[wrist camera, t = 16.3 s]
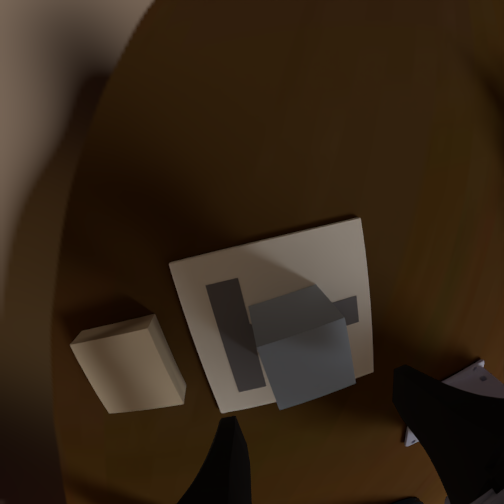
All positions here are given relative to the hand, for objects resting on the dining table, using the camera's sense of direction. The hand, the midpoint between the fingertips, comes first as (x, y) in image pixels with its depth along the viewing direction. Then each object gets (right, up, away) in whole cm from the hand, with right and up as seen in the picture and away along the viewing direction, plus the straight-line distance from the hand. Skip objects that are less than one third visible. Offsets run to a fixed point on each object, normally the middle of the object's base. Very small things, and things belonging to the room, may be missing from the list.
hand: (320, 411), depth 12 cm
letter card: (-1, +2, +8) cm, 8 cm away
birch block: (-11, -1, +8) cm, 14 cm away
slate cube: (0, +2, +8) cm, 8 cm away
